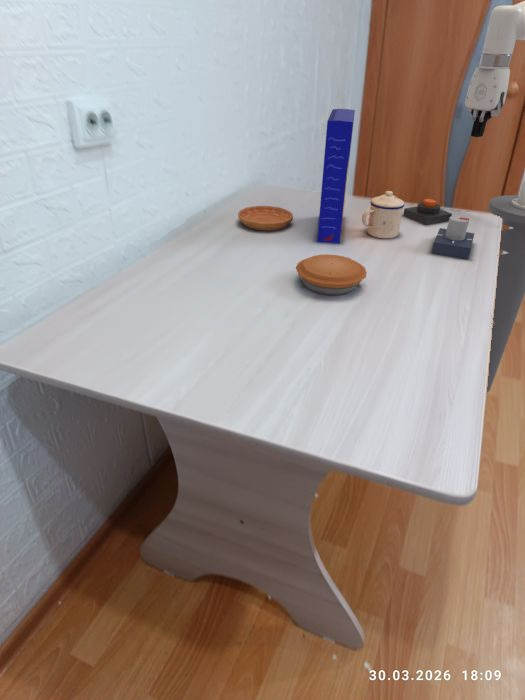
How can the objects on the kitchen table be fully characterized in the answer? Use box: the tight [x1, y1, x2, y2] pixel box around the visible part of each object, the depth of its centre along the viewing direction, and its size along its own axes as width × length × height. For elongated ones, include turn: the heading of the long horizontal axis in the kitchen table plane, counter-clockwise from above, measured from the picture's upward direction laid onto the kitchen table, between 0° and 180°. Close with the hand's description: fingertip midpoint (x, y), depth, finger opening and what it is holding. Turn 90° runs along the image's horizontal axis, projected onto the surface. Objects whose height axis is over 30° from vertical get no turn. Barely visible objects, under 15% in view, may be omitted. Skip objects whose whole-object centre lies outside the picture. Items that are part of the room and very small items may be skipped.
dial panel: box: [431, 227, 475, 260], centre depth 126 cm, size 12×9×3 cm
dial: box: [445, 215, 470, 241], centre depth 124 cm, size 5×5×5 cm
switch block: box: [402, 201, 453, 226], centre depth 147 cm, size 10×10×4 cm
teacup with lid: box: [361, 190, 405, 239], centre depth 132 cm, size 12×9×12 cm
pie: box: [295, 253, 367, 296], centre depth 106 cm, size 15×16×5 cm
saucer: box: [237, 205, 294, 231], centre depth 140 cm, size 16×16×3 cm
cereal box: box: [316, 108, 356, 244], centre depth 129 cm, size 22×6×30 cm, turn 170°
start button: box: [423, 198, 437, 207], centre depth 145 cm, size 4×4×2 cm
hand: (476, 136), depth 138 cm, fingers closed
